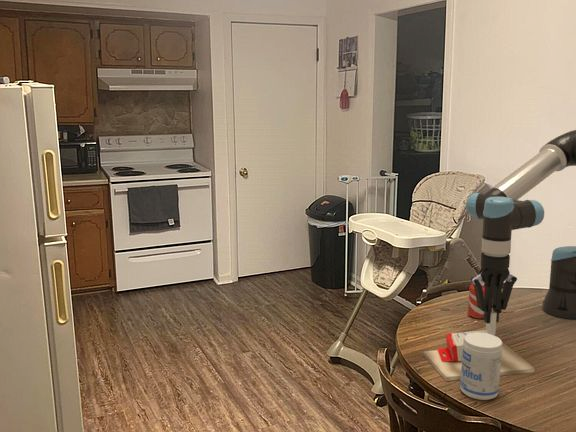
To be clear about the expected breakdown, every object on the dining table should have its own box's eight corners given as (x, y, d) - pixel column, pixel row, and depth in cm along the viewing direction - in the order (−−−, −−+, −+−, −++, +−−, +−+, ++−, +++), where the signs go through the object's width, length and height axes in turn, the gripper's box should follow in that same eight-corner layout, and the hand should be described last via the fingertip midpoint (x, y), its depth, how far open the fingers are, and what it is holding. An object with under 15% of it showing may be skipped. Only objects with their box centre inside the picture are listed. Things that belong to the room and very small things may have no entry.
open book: (504, 347, 176) (505, 340, 175) (534, 372, 161) (535, 364, 160) (423, 355, 172) (423, 347, 171) (446, 381, 156) (446, 372, 156)
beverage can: (480, 321, 196) (482, 287, 194) (464, 315, 201) (466, 282, 199) (490, 316, 200) (492, 283, 198) (474, 311, 205) (476, 278, 202)
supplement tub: (453, 393, 150) (456, 340, 147) (468, 379, 157) (471, 328, 154) (490, 405, 144) (494, 350, 141) (504, 390, 151) (508, 338, 148)
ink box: (493, 341, 162) (440, 347, 163) (495, 357, 163) (442, 363, 165) (486, 329, 170) (435, 334, 172) (487, 344, 171) (437, 349, 173)
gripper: (510, 248, 164) (504, 326, 169) (467, 250, 162) (462, 329, 167) (524, 255, 157) (518, 336, 162) (480, 258, 155) (475, 340, 160)
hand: (490, 333), depth 165 cm, fingers closed
